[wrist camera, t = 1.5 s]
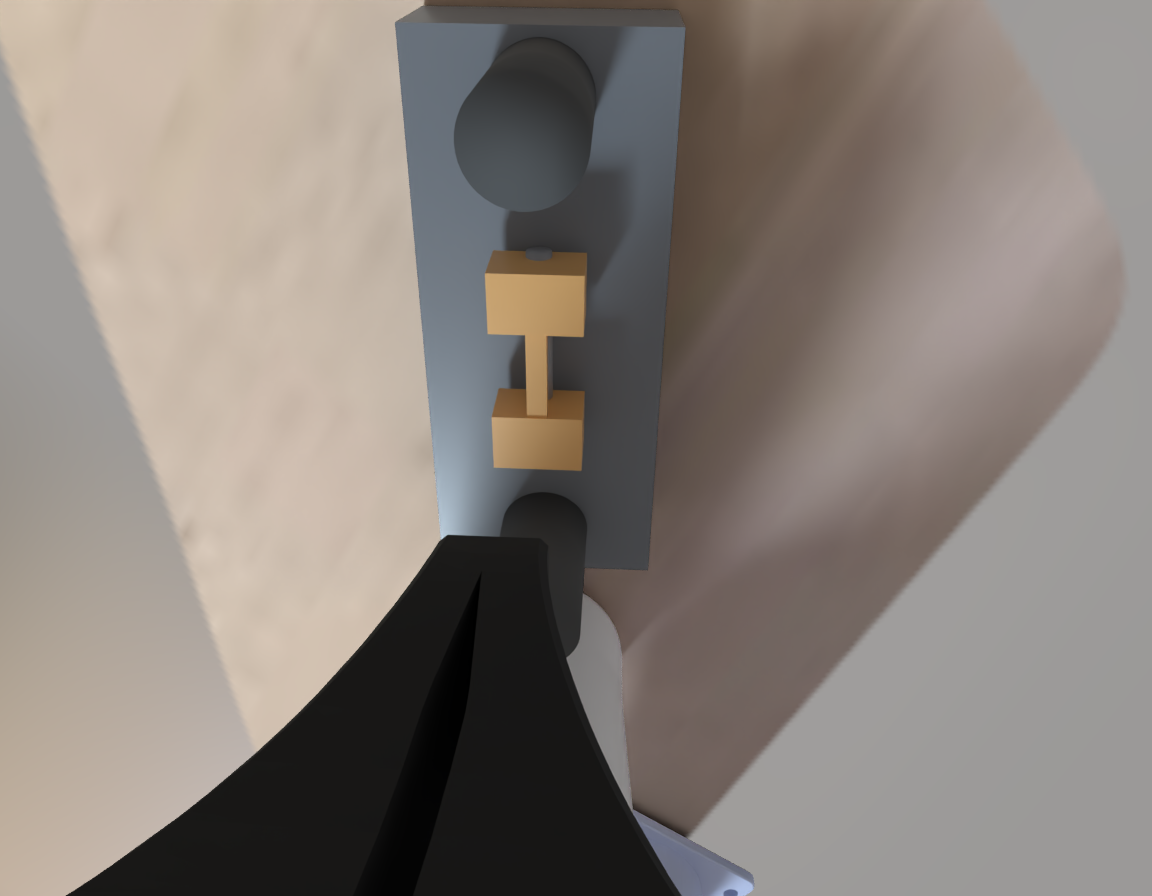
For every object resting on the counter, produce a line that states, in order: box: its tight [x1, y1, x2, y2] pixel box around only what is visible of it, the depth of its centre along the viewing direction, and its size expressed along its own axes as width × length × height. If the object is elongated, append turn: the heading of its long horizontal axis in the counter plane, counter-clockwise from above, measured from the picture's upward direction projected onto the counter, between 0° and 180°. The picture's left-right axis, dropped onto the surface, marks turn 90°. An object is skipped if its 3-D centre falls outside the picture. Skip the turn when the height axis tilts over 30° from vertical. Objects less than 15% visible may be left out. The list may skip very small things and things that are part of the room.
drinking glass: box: [566, 593, 633, 813], centre depth 20 cm, size 7×7×15 cm
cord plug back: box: [500, 492, 587, 658], centre depth 20 cm, size 2×2×4 cm
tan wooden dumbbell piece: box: [485, 247, 587, 471], centre depth 18 cm, size 4×2×1 cm, turn 179°
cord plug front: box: [454, 37, 596, 212], centre depth 14 cm, size 2×2×4 cm
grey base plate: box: [395, 6, 685, 570], centre depth 20 cm, size 12×5×2 cm, turn 0°
